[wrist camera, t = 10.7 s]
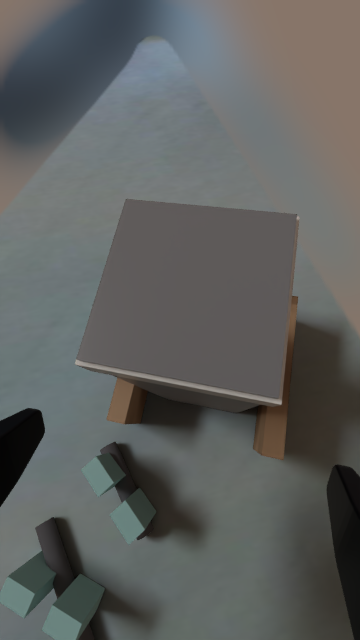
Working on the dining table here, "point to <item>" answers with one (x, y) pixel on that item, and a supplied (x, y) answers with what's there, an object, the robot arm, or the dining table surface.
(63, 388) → the dining table surface
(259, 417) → the end holder
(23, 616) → the cable clips
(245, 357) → the tall grey box
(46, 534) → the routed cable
